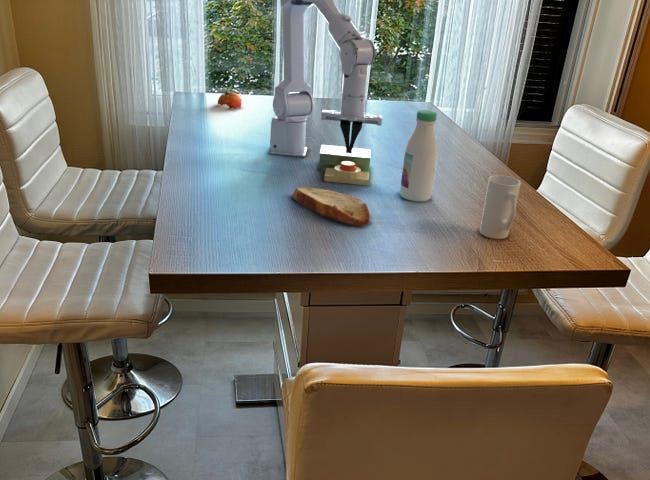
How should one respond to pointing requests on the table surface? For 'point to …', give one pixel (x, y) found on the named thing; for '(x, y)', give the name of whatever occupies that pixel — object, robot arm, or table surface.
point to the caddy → (334, 161)
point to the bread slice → (333, 205)
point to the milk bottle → (420, 159)
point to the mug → (499, 206)
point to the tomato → (230, 100)
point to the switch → (347, 166)
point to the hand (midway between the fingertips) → (348, 152)
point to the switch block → (346, 176)
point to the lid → (341, 152)
